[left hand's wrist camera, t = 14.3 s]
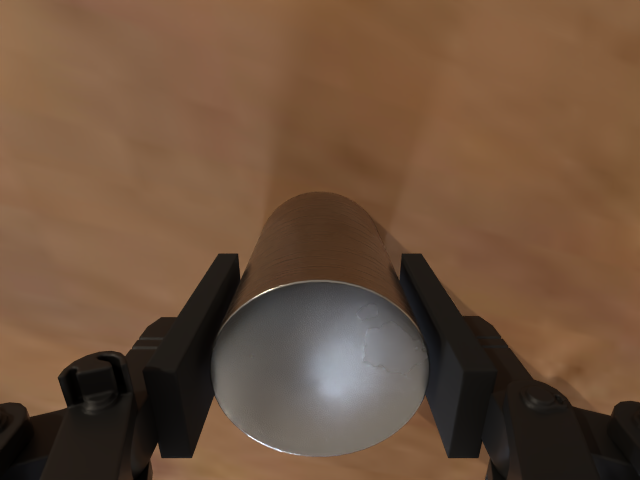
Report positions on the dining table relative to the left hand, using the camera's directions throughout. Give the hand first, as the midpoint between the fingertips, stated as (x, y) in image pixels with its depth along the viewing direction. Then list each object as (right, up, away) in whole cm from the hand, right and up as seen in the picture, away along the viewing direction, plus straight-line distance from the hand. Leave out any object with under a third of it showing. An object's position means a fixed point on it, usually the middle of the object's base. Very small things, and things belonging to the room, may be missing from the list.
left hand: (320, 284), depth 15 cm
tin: (0, +1, +3) cm, 4 cm away
